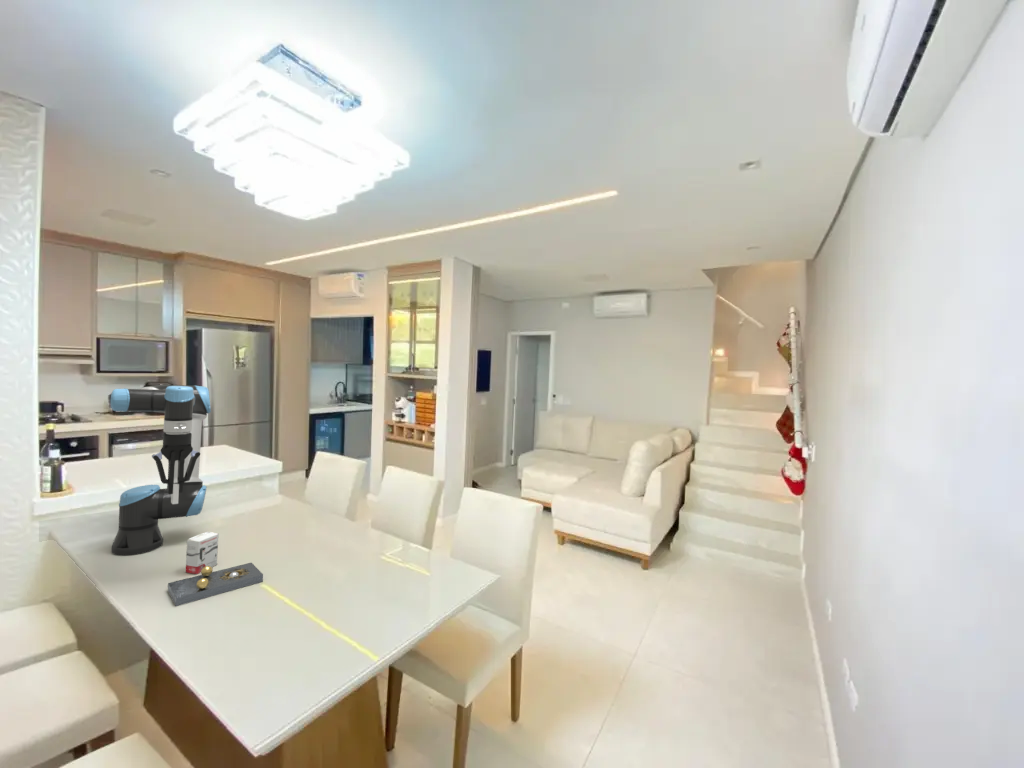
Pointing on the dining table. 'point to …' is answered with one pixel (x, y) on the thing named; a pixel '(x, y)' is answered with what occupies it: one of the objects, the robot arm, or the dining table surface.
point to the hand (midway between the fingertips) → (174, 502)
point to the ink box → (201, 552)
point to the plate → (214, 583)
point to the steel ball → (234, 574)
